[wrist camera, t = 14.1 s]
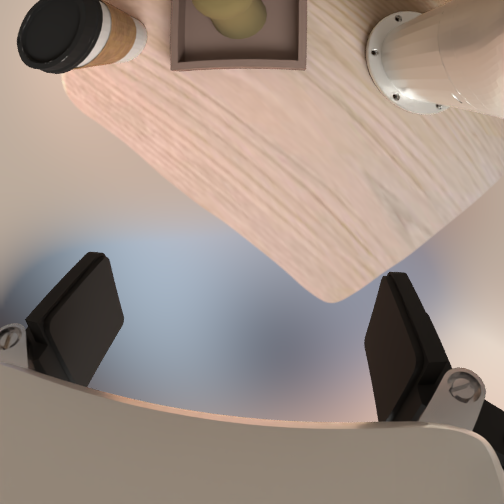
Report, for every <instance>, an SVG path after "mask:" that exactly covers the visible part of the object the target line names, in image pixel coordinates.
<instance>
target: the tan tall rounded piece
mask: <svg viewBox="0 0 504 504" xmlns="http://www.w3.org/2000/svg"><path fill="white" fill-rule="evenodd" d="M192 3H193V5H194V6H195V8H196V9H197V10H198V11H199V12H201V13H202V14H203V15H205V16H206V17H209V18H210V19H211V21H212V23H213V25H214V27H215V28H216V30H217V31H218V32H219V33H220V34H222V35H223V36H225V37H228V38H230V39H244V38H249V37H251V36H253V35H255V34H256V33H257V32H259V31H260V30H261V29H262V27H263V26H264V24H265V22H266V17H267V12H266V7H265V5H264V4H263V2H262V1H261V0H192Z"/></svg>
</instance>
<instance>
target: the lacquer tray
mask: <svg viewBox="0 0 504 504" xmlns="http://www.w3.org/2000/svg"><path fill="white" fill-rule="evenodd" d="M261 1H262V2H263V4H264V5H265V7H266V12H267V17H266V22H265V24H264V26H263V27H262V29H261V30H260V31H259V32H257V33H256V34H255V35H253V36H251V37H249V38H244V39H230V38H228V37H225V36H223V35H222V34H220V33H219V32H218V31H217V30H216V28H215V27H214V25H213V23H212V21H211V19H210V18H209V17H206V16H205V15H203V14H202V13H201V12H199V11H198V10H197V9H196V8H195V6H194V5H193V3H192V0H172V9H171V70H172V71H191V70H207V69H242V68H254V69H289V70H305V69H306V50H307V0H261Z"/></svg>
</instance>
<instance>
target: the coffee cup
mask: <svg viewBox="0 0 504 504" xmlns="http://www.w3.org/2000/svg"><path fill="white" fill-rule="evenodd" d="M146 42H147V31H146V28H145V26H144V25H143V24H142V23H141V22H140V21H138V20H137V19H135V18H133V17H131V16H129V15H128V14H126V13H125V12H123V11H121V10H119V9H118V8H116V7H114V6H112V5H110V4H109V3H107V2H105V1H103V0H40V1H38V2H37V3H36V4H35V5H34V6H33V7H32V8H31V9H30V10H29V11H28V13H27V15H26V16H25V18H24V20H23V22H22V24H21V27H20V30H19V33H18V37H17V47H18V52H19V55H20V57H21V59H22V61H23V62H24V63H25V64H26V65H27V66H29V67H31V68H34V69H40V70H42V71H44V72H47V73H55V74H60V73H65V72H68V71H70V70H73V69H81V68H86V67H92V66H99V65H106V64H112V63H124V62H128V61H131V60H133V59H134V58H136V57H137V56H138V55H139V54H140V53H141V52H142V50H143V49H144V47H145V44H146Z"/></svg>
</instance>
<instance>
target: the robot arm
mask: <svg viewBox="0 0 504 504" xmlns="http://www.w3.org/2000/svg"><path fill="white" fill-rule="evenodd" d="M395 18H396V19H398V22H397V21H396V20H395ZM371 51H374V52H375V55H372V54H371ZM366 60H367V66H368V69H369V73H370V75H371V77H372V79H373V81H374V83H375V85H376V86H377V88H378V89H379V91H380V92H381V93H382V94H383V95H384V96H385V97H386V98H387V99H388V100H389V101H390V102H392V103H393V104H394V105H396V106H397V107H399V108H401V109H403V110H405V111H408V112H412V113H416V114H421V115H431V114H436V113H440V112H442V111H444V110H446V109H448V108H449V107H455V108H459V109H464V110H469V111H473V112H477V113H482V114H486V115H490V116H494V117H498V118H503V119H504V0H452V1H450V2H448V3H445V4H443V5H441V6H438V7H436V8H434V9H432V10H430V11H427V12H425V13H423V14H422V13H418V12H413V11H401V12H397V13H393V14H391V15H389V16H387V17H385V18H383V19H382V20H381V21H379V22H378V23H377V25H376V26H375V27H374V28H373V30H372V31H371V33H370V35H369V38H368V41H367V45H366ZM394 94H395V95H396V98H395V99H394V98H393V95H394ZM436 104H437V105H438V106H437V107H436ZM25 320H26V322H27V324H28V328H27V329H26V330H25V328H24V327H23V326H22V325H20V324H9V325H6V326H4V327H2V328H1V329H0V504H504V411H502V410H501V409H499V408H497V407H496V406H494V405H493V404H491V403H489V402H488V401H486V400H485V399H484V398H485V394H486V390H485V385H484V384H483V382H482V380H481V378H480V377H479V376H478V375H477V374H475V373H474V372H473V371H471V370H468V369H465V368H454V369H452V367H451V365H450V362H449V360H448V357H447V355H446V353H445V350H444V348H443V346H442V343H441V341H440V339H439V337H438V334H437V332H436V330H435V328H434V326H433V324H432V321H431V319H430V317H429V315H428V314H427V313H426V312H425V310H424V308H423V306H422V303H421V301H420V299H419V297H418V295H417V293H416V292H415V289H414V287H413V285H412V283H411V281H410V280H409V278H408V276H407V274H406V273H401V272H389V273H388V275H387V276H383V277H382V280H381V283H380V287H379V291H378V295H377V298H376V302H375V305H374V309H373V312H372V316H371V319H370V323H369V326H368V329H367V332H366V336H365V342H364V344H365V351H366V356H367V360H368V365H369V370H370V376H371V380H372V386H373V392H374V397H375V403H376V409H377V415H378V421H379V422H353V423H352V422H350V423H349V422H348V423H347V422H344V423H343V422H299V421H281V420H266V419H254V418H244V417H236V416H227V415H219V414H211V413H204V412H198V411H191V410H185V409H180V408H173V407H168V406H163V405H158V404H153V403H148V402H144V401H139V400H135V399H130V398H126V397H122V396H117V395H113V394H110V393H106V392H102V391H99V390H95V389H91V388H88V387H87V386H88V384H89V382H90V380H91V379H92V377H93V375H94V374H95V372H96V370H97V368H98V366H99V365H100V363H101V361H102V359H103V358H104V356H105V354H106V352H107V351H108V349H109V347H110V346H111V344H112V342H113V340H114V339H115V337H116V335H117V334H118V332H119V330H120V329H121V327H122V325H123V322H124V316H123V312H122V309H121V305H120V301H119V297H118V293H117V290H116V286H115V282H114V277H113V273H112V269H111V265H110V261H109V259H108V258H107V257H106V256H105V254H104V253H98V252H88V253H87V254H86V255H85V256H84V257H83V258H82V259H81V260H80V261H79V262H78V263H77V264H76V265H75V266H74V267H73V268H72V269H71V270H70V271H69V272H68V273H67V274H66V275H65V276H64V277H63V278H62V279H61V280H60V282H59V283H58V284H57V285H56V286H55V287H54V288H53V289H52V290H51V291H50V292H49V293H48V294H47V295H46V297H45V298H44V299H43V300H42V301H41V302H40V303H39V304H38V306H37V307H36V308H35V309H34V310H33V311H32V312H31V314H30V315H29V316H28V317H27V318H26V319H25Z"/></svg>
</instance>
